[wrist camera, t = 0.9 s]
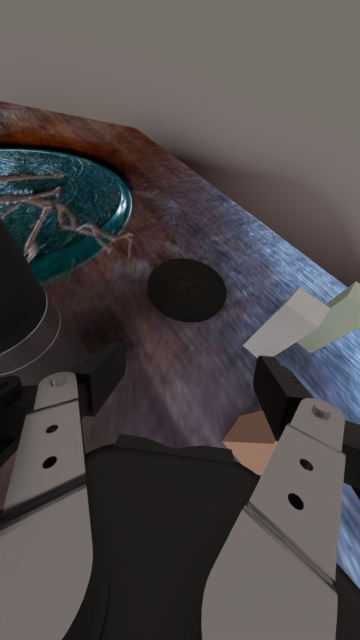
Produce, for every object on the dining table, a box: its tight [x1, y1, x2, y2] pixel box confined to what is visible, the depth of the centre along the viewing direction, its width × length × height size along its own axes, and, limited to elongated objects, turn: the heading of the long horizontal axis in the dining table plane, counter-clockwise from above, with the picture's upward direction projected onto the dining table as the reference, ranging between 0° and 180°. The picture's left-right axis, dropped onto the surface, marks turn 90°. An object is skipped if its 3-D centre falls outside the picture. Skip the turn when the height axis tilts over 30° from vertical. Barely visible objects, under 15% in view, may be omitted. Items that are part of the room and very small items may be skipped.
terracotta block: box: [222, 410, 278, 476], centre depth 23 cm, size 5×5×14 cm
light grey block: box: [243, 288, 331, 358], centre depth 32 cm, size 5×5×14 cm
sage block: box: [297, 282, 360, 353], centre depth 35 cm, size 5×5×14 cm
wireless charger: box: [148, 259, 226, 322], centre depth 43 cm, size 18×18×2 cm
